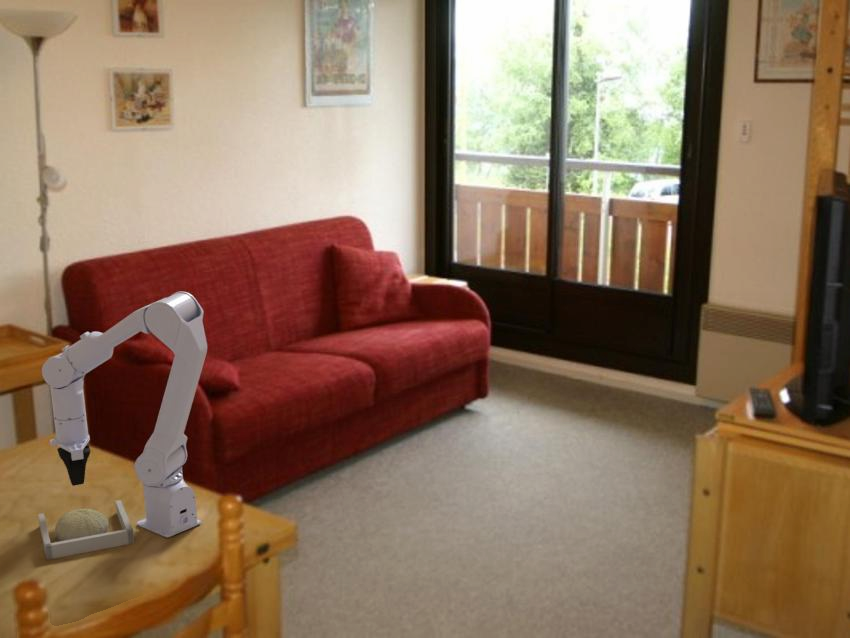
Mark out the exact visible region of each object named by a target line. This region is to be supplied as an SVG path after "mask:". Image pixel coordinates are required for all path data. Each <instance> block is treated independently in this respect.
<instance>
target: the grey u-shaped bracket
mask: <svg viewBox="0 0 850 638" xmlns="http://www.w3.org/2000/svg"><path fill="white" fill-rule="evenodd" d="M115 511H116V513H115V514H116V516H117V518H118V520H119V523H120V525H121V529H119V530H114V531H107V532H106V533H103V534H98V535H92V536H87V537H82V538H76V539H71V540H65V541H60V540H59V541H55V542H51V539H50V534H49V528H48V526H47V521H46V517H45V514H44V513H38V514H37V516H38V517H37V518H38V524H39V530H40V536H41V540H42V544H43V548H44V549H43V550H44V555H45V558H46V560H47V561H48V560H53V559H58V558H63V557H67V556H75V555H79V554H85V553H88V552H89V553H90V552H94V551H95V552H96V551H99V550H105V549H111V548H116V547H120V546H127V545H131V544H135V535H134V534H135V533H134V529H133V527H132V525H131V521H130V519H129V517H128V514H127V512H126V510H125V507H124V505H123V501H122V499H118V500H115Z"/></svg>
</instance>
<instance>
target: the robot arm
mask: <svg viewBox="0 0 850 638" xmlns="http://www.w3.org/2000/svg"><path fill="white" fill-rule="evenodd" d="M203 318H204V309H203V308H202V306H201V305H200V303H199V302H198V300H197V299H196V297H194V295H192V294H191V293H190V292H187V291H176V292H173V293H172V294H171V295H170V296H167V297H164V298H162V299H159V300H157V301H155V302H152V303H150V304H148V305H145V306H143V307H141V308H138V309H136V310H135V311H133V312H132V313H130V314H128V315H127V316H125V318H123V319H122V320H120V321H118V322H117V323H116V324H115V325H113V326H112V327H110V328H109V329H108V330H106V331H105V332H100V331H92V332H89V331H86V332H83V334H81V335H79V338H80V339H79V340H78V341H76V342H75V343H73V344H71V345H66V346H64V347H63V348H61V351H62V352H61V353H58V354H56V355H54V356H50V357H48V359H46V361H45V362H44V364H43V365H42V368H41V375H42V377H43V379H44V381H45V383H46V384H48V385H49V387H50V398H51V404H52V413H53V422H54V430H55V438H52V439H50V440H49V444H50V446H51V447H58V448H57V453H58V457H59V458H60V459H61V460H62V462H63V464H64V466H65V468H66V471H67V473H68V474H67V475H68V477H69V480H70V484H71V485H72V486H73V487H75V486H81V485H84V483H85V479H86V477H85V476H86V466H87V462H88V459H89V457H90V454H91V449H90V445H89V442H90V440H91V438H90V434H89V427H88V421H87V412H86V402H85V394H84V378H85V376H86V374H88V373H89V372H91V371H92V370H94V369H96V368H97V367H98V366H100V365H102V364H103V363H105V362H106V361H108V360H110V359H112V356H113V354H114V349H115V347H117V346H118V345H120V344H122V343H124V342H125V341H127V340H129V339H130V338H132V337H133V336H135V335H136V334H139V333H140V332H141V333H144V334H146V335H148V334H150V333H151V334H152V335H154V336H155V337H156V338H157V339H158V340H159V341H160V342H161V343H163V344H164V346H166V347H167V348H169V349H170V350H171V351H172V353H173V354H174V357H173V361H172V365H171V368H170V371H169V376H168V379H167V383H166V386H165V390H164V394H163V397H162V402H161V405H160V409H159V412H158V415H157V420H156V423H155V426H154V430H153V432H152V434H151V435H150V437H149V439H147V442H146V444H145V445H144V449H143V451H142V453H141V454H140V455H139V456H138V457H137V458H136V460H135V461H134V467H133V468H134V472H135V475H136V478H138V480H139V482H141V483H142V487H143V499H144V511H145V518H143V519H140V520H139V521H137V522H136V526H138V527H141V528H143V529H146V530H148V531H150V532H152V533H155V534H157V535H160V536H162V537H164V538H171V537H173V536H175V535H178V534H179V533H182V532H184V531H186V530H189V529H191V528H194V527H197V526H198V525H200V524H202V521H201V520H200V519H198V515H197V514H198V513H197V503H196V502H197V500H196V494H195V492H194V489H193V488H192V487H190V486H189V485H188V484H187V483H186V482H185V479H184V476H183V466H184V465H185V464H186V462H187V460H188V451H187V441H188V436H187V435H186V434H185V430H186V426H187V424H188V423H187V422H188V420H189V416H190V412H191V409H192V405H193V402H194V398H195V395H196V392H197V389H198V384H199V381H200V378H201V373H202V370H203V366H204V363H205V359H206V356H207V353H208V342H207V337H206V332H205V328H204V323H203Z"/></svg>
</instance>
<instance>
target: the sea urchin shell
mask: <svg viewBox="0 0 850 638" xmlns="http://www.w3.org/2000/svg"><path fill="white" fill-rule="evenodd" d="M109 527H110V523H109V518H107V516H106V515H105V514H104V513H101V512H100V511H98V510H94V509H91V508H81V509H79V508H78V509H73V510H70V511H68V512H65V513H64V514H62V515H61V516H60V517H59V518H58V521H57V523H56V524H55V529H54V530H55V534H56V538H57V539H58V541H59V542H60V541H65V540H71V539H76V538H82V537H87V536H92V535H98V534H103V533H108V530H109Z"/></svg>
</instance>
